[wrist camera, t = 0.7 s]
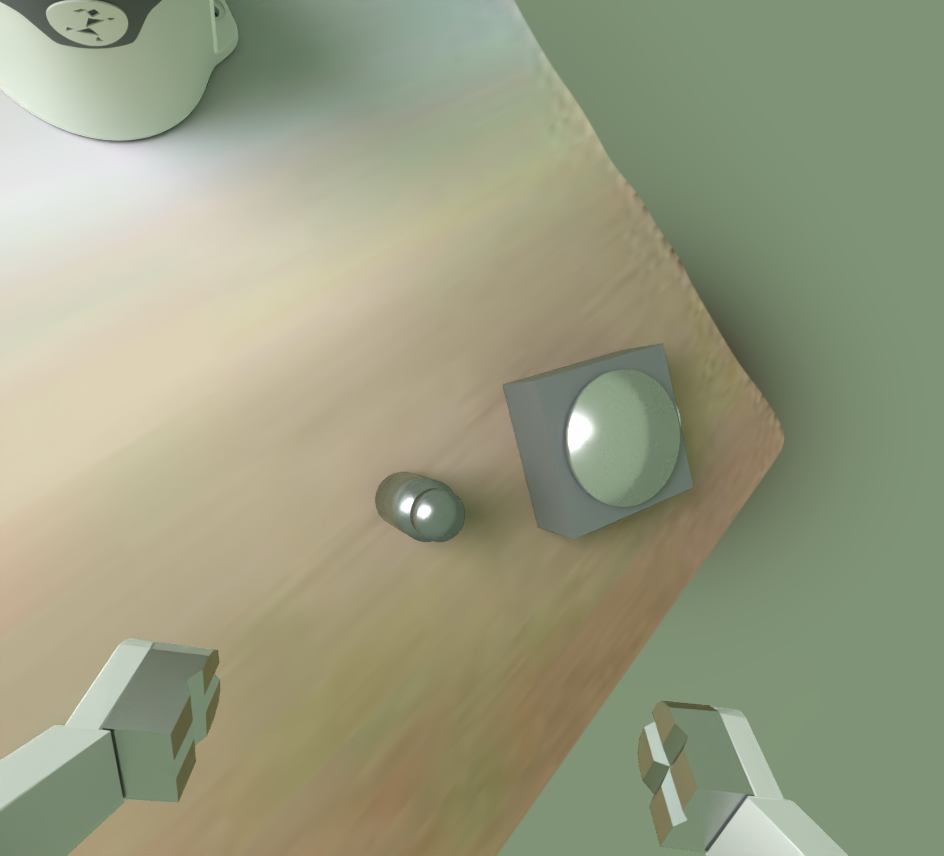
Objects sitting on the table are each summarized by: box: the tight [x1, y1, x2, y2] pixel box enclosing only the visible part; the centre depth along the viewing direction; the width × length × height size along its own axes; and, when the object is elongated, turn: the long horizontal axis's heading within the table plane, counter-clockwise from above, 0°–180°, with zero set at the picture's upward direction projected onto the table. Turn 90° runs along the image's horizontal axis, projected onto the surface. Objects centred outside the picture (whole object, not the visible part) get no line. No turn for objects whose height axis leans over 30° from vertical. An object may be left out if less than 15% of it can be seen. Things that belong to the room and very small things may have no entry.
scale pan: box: [564, 369, 680, 507], centre depth 50 cm, size 12×12×1 cm
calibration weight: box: [375, 472, 465, 542], centre depth 44 cm, size 5×5×10 cm
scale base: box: [503, 343, 693, 539], centre depth 53 cm, size 14×14×6 cm
